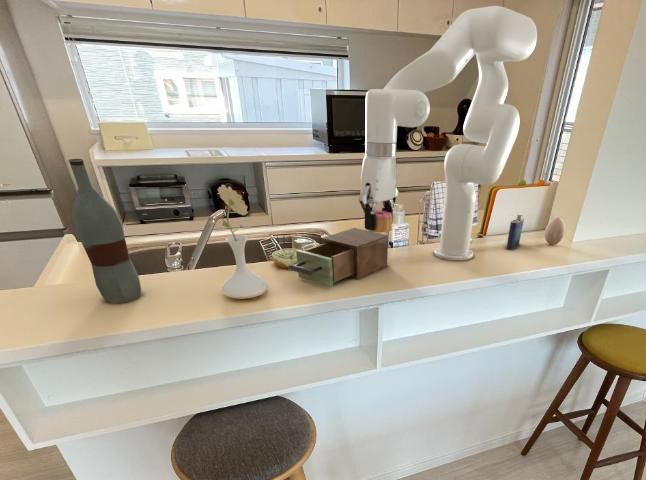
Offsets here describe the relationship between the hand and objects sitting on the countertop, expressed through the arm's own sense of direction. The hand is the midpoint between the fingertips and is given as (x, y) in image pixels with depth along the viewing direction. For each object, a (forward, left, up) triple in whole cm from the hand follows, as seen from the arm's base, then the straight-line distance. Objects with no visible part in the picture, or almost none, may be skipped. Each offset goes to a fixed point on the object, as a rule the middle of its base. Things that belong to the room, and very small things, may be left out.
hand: (378, 226), depth 112 cm
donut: (0, 0, -1) cm, 1 cm away
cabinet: (-1, -9, -14) cm, 16 cm away
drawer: (+13, -9, -13) cm, 20 cm away
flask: (-53, +20, -14) cm, 59 cm away
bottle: (+52, -40, -14) cm, 67 cm away
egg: (-65, +30, -14) cm, 73 cm away
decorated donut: (+9, -26, -14) cm, 31 cm away
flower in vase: (+32, -19, -14) cm, 39 cm away
